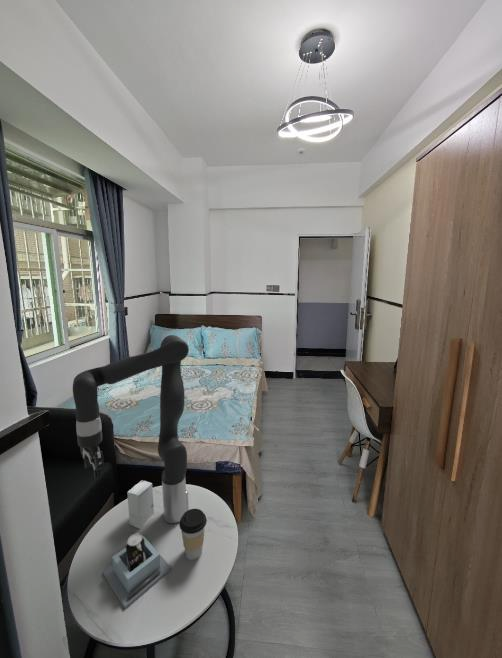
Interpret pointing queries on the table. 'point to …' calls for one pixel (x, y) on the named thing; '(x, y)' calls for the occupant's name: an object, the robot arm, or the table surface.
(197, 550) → the coffee cup
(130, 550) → the beverage can
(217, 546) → the table surface
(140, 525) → the skincare box
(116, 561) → the hollow square can holder
